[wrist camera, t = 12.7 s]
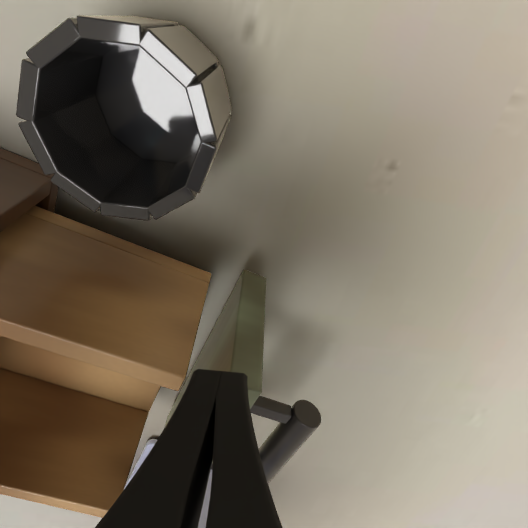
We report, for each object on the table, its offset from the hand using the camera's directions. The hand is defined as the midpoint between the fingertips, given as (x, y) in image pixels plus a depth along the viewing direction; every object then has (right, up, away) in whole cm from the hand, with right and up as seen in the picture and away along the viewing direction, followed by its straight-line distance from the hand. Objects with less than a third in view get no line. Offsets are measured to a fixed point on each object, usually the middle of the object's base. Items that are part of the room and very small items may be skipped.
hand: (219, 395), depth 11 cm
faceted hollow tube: (-3, +10, +5) cm, 12 cm away
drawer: (-5, 0, +10) cm, 12 cm away
